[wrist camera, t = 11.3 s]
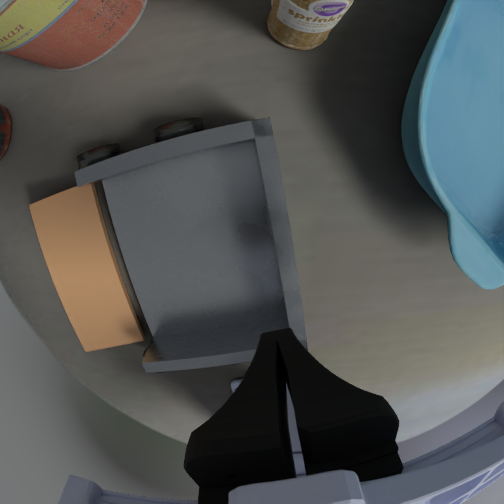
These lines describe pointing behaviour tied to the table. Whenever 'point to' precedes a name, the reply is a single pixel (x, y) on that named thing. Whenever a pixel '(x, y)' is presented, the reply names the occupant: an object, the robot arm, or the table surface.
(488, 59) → the casserole dish
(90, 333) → the panel
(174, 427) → the table surface
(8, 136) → the supplement bottle
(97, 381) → the table surface
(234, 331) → the trailer
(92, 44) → the canned food
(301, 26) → the sprinkles bottle
